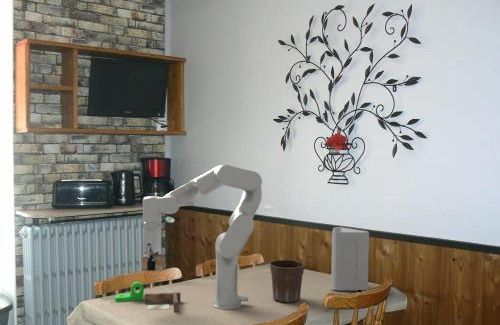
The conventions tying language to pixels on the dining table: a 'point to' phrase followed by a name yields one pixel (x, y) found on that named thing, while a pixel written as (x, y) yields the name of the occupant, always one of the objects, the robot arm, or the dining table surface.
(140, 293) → the mechanical part
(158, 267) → the block
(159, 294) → the arena
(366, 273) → the grey tall block
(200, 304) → the dining table surface
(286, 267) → the plant pot
